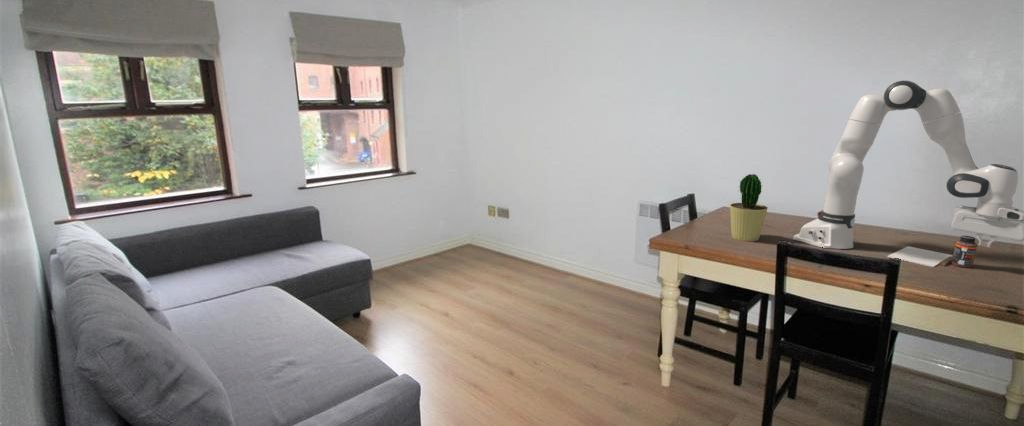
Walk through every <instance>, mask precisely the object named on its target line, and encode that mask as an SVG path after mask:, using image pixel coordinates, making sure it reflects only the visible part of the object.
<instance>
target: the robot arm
mask: <svg viewBox="0 0 1024 426" xmlns="http://www.w3.org/2000/svg"><path fill="white" fill-rule="evenodd" d="M910 109H912V110H915V111H916V112H917V114H918V115H919V118H920V120H921V123H922V126H923V129H924V131H925V133H926V134H927V137H929V139H930V140H931V141H933V142H934V143H936V144H937V145H939V146H940V147H941V148H942V149H943V151H944V152H945V154H946V156H947V158H948V161H949V163H950V166H951V169H952V175H951V177H950V178H949V179H948V180H947V181H946V190H947V192H948V193H949V194H950V195H952V196H953V197H956V198H961V199H968V198H969V199H970V198H971V199H972V198H978V199H977V204H976V206H966V205H960V206H956V207H955V208H954V209H953V219H952V221H951V224H950V227H951V229H952V230H955V231H959V232H960V231H961V232H966V233H973V234H976V236H975V238H977V241H978V244H977V247H983V248H986V249H988V248H989V249H990V248H991V245H992V243H993V242H994V241H996V240H997V238H1002V239H1007V240H1013V241H1018V242H1023V241H1024V210H1022V209H1020V208H1016V207H1015V206H1013V204H1014V203H1013V197H1014V195H1015V194H1016V191H1017V188H1018V181H1019V173H1018V171H1017V169H1015V168H1014V167H1011V166H1008V165H1003V164H998V163H991V164H989V165H987V166H984V167H983V166H982V167H980V168H979V167H978V166H977V165H976V164H975V162H974V160H973V157H972V155H971V153H970V152H971V151H970V150H969V147H968V145H967V139H966V132H965V122H964V117H963V115H962V112H961V109H960V107H959V105H958V103H957V101H956V99H955V97H954V96H953V94H952V93H951V92H950V91H949V90H948V89H947V88H943V87H942V88H940V87H939V88H934V89H933V88H932V89H930V90H926V89H924V88H923V87H921V86H920V85H919V84H918V83H916V82H914V81H911V80H899V81H895V82H893V83H892V84H890V85H889V86H887V88H886V89H885V91H884V92H883V93H880V94H876V93H869V94H865V95H863V96H861V98H860V99H859V100H858V101H857V103H856V104H855V106H854V108H853V110H852V112H851V114H850V116H849V119H848V121H847V123H846V126H845V128H844V130H843V133H842V135H841V137H840V140H839V142H838V143H837V146H836V147H835V150H834V152H833V154H832V156H831V158H830V161H829V163H828V171H829V178H828V184H827V187H826V188H827V189H826V192H825V197H824V203H823V209H821V211H818V212H817V213H816V216H817V217H816V218H815V219H814V220H811V221H809V222H807V223H805V224H804V225H803V226H802V227H801V228H800V230H799V233H797V234H794V235H793V238H792V239H793V240H794V241H798V242H801V243H804V244H805V243H806V244H808V245H812V246H815V247H819V248H822V247H823V249H839V250H843V249H844V250H847V249H853V248H854V241H853V228H854V225H855V222H856V221H855V220H856V213H855V210H856V205H857V200H858V199H857V198H858V194H859V190H860V188H861V183H862V179H863V174H864V170H865V169H864V164H863V162H864V160H865V158H866V156H867V154H868V152H869V150H870V149H871V147H872V146H873V144H874V142H875V141H876V137H877V135H878V132H879V130H880V129H881V126H882V123H883V122H884V119H885V117H886V115H887V114H888V113H889V112H890V111H892V112H893V111H905V110H906V111H907V110H910ZM984 236H988V237H989V240H988V241H985V240H983V238H982V237H984Z"/></svg>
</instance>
